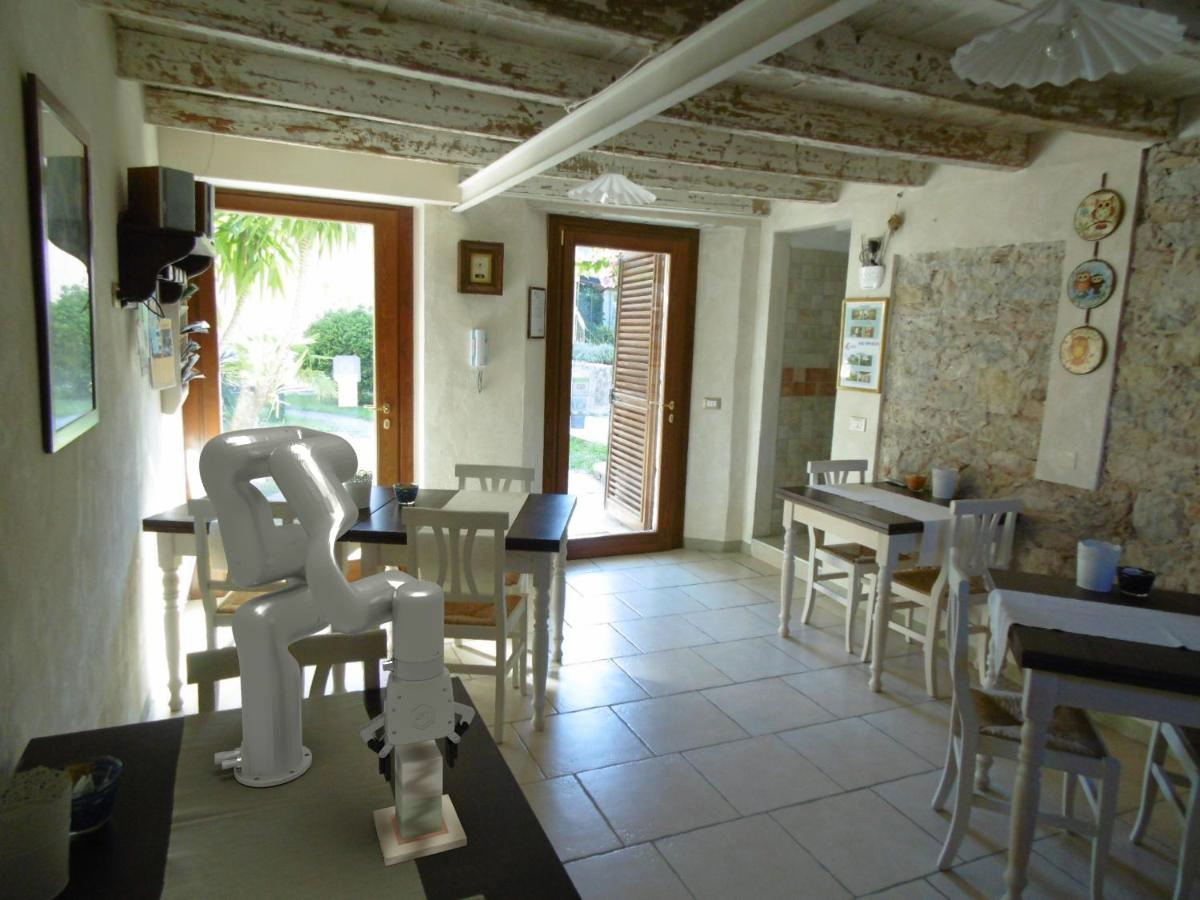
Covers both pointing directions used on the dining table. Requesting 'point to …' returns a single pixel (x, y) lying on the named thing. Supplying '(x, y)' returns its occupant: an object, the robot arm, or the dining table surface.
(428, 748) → the cream block
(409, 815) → the sage block
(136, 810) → the dining table surface
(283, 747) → the robot arm
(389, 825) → the board
